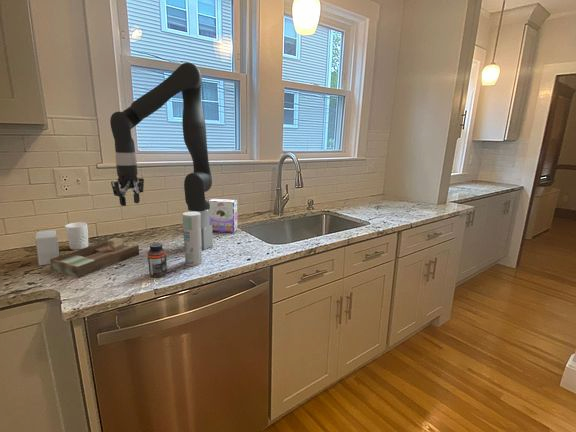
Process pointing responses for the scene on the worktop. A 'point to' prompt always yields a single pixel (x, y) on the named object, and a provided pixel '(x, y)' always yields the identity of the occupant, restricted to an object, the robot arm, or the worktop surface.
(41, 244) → the skincare box
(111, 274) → the worktop surface
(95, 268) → the box
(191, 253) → the spray can
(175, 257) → the worktop surface
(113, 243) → the maple block
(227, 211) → the candy box
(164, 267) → the supplement bottle
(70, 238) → the white cup
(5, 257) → the worktop surface
